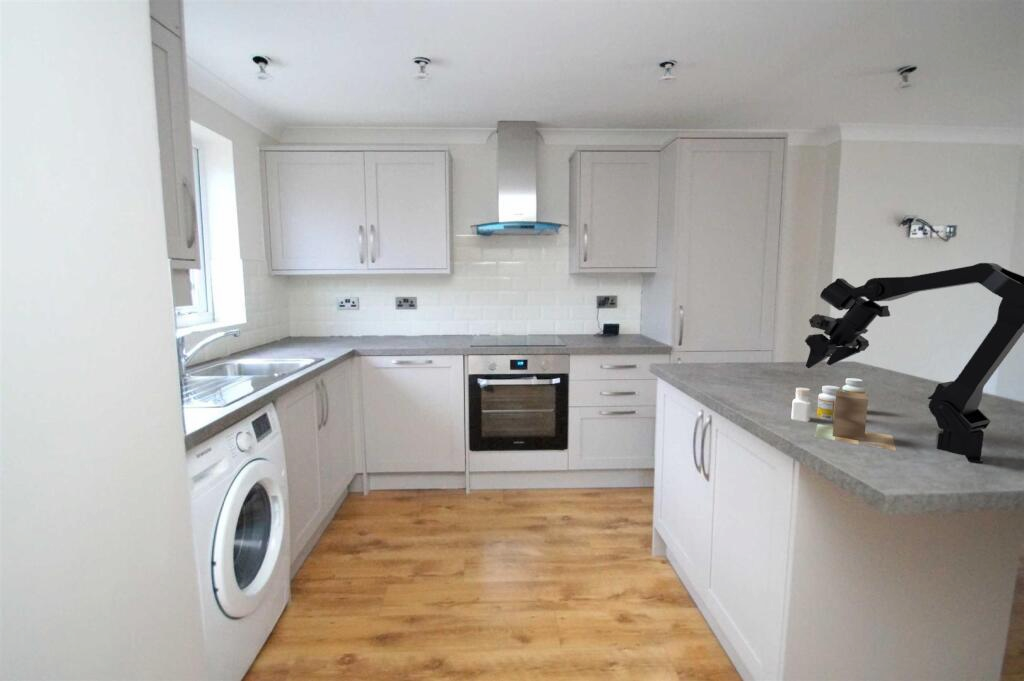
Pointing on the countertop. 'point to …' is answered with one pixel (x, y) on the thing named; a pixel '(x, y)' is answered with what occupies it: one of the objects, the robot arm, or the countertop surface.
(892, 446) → the trap board
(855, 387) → the supplement bottle
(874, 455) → the countertop surface
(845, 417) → the walnut block
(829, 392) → the supplement bottle
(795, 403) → the white square pill bottle
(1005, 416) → the countertop surface
